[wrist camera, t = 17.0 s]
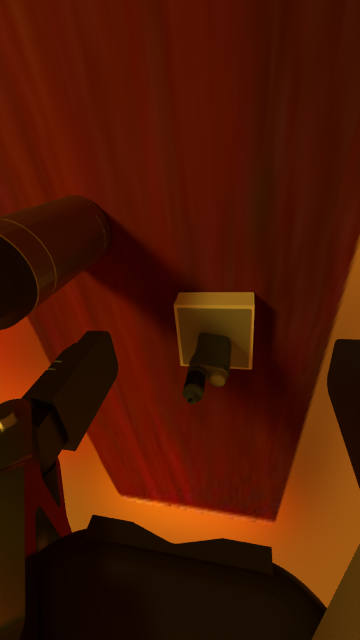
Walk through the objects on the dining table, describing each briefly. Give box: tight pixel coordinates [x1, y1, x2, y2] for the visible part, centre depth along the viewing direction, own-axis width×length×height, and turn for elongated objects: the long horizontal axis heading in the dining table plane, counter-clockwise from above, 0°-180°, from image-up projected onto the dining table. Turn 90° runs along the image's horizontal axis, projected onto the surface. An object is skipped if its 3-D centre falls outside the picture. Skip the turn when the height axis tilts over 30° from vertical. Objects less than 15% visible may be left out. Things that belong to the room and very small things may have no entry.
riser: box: [174, 292, 255, 370], centre depth 43 cm, size 11×11×4 cm
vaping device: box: [183, 332, 232, 404], centre depth 37 cm, size 3×5×12 cm, turn 85°
